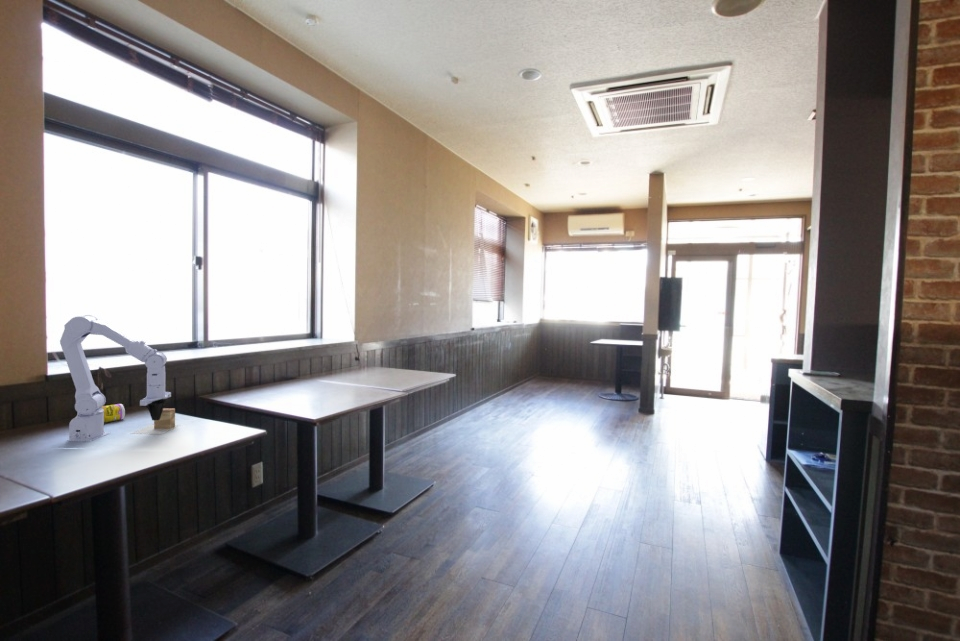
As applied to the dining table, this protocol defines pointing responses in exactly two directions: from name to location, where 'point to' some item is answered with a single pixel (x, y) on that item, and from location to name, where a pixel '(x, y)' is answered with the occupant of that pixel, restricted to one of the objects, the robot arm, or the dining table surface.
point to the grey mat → (152, 430)
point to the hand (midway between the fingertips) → (156, 419)
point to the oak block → (166, 419)
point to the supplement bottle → (113, 412)
